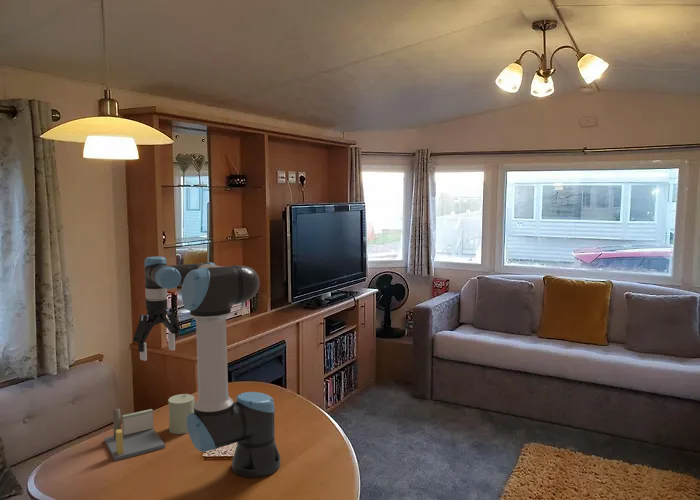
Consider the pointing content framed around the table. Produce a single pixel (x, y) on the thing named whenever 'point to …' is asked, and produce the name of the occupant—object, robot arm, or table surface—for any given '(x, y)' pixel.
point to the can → (180, 412)
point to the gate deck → (131, 441)
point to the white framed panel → (137, 421)
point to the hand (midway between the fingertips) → (158, 354)
